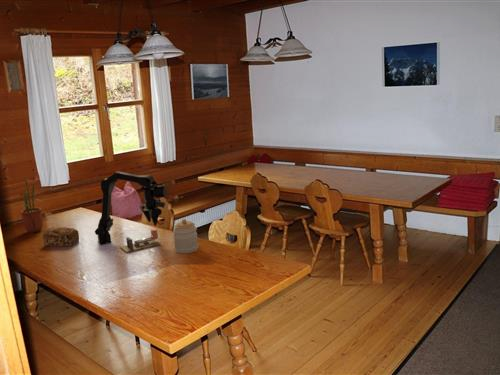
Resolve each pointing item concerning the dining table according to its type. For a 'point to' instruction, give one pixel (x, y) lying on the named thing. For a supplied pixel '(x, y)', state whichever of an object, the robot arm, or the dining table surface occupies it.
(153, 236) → the bolt
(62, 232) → the bread
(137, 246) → the latch board
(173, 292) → the dining table surface
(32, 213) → the potted plant
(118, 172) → the robot arm
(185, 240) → the jar
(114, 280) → the dining table surface
